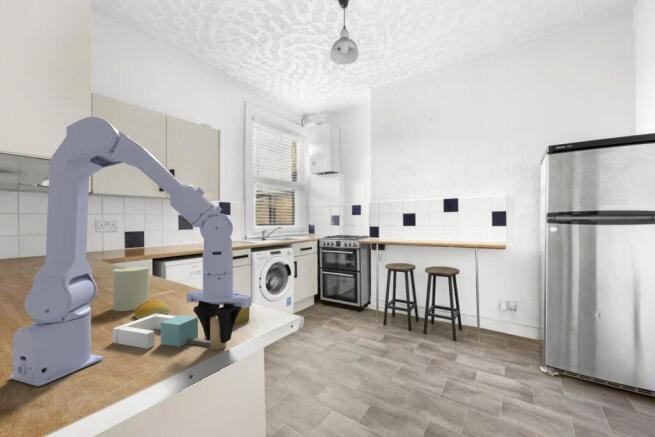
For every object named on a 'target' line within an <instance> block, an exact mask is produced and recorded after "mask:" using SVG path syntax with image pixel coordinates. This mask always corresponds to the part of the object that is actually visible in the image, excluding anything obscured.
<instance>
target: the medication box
mask: <svg viewBox="0 0 655 437" xmlns="http://www.w3.org/2000/svg"><path fill="white" fill-rule="evenodd" d="M250 307H251V306H250ZM250 307H247V308H241V310H240V312H239V314H238V316H237V318H236V321H235V323H234V327H236V326H238V325H241V324H242V323H244V322H246V321H248V320H250Z"/></svg>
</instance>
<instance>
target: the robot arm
mask: <svg viewBox="0 0 655 437" xmlns="http://www.w3.org/2000/svg"><path fill="white" fill-rule="evenodd" d="M121 164H125V165H127V166H131V167H135V168H137V169H138V170H140V172H142V173H143V174H144V175H146V176H147V177H148V178H149V179H150V180H152V182H153V183H155V185H157V186H158V187H159V188H161V189H162V190H163V191H164V192H165V193H166V194H168V195H169V204H170V206H171V208H173V209H174V210H175V211H176V212H178V214H179V215H180V216H182V217H183V218H184V219H185V220H186V221H187V222H188V223H190V224H191V226H193V227H194V228H199V232H200V235H201V237H202V238H203V250H202V291H201V290H193V291H189V292H186V303H198V304H197V306H194V307H193V312H194V314H195V315H196V317H198V321H199V322H200V324H201V327H202V330H203V334H204V337H205V340H206V341H210V317H212V316H215V315H217V316H218V320H219V325H220V339H221V343H226V344H227V342H229V341H230V340H231V339H232V335H233V330H234V327H235V326H234V323H235V321H236V318H237V316H238V314H239V312H240V310H241V308H247V307H251V306H252V300H253V299H252V295H246V294H243V293H237V292H235V290H234V258H233V257H234V256H233V255H234V254H233V253H234V252H233V249H232V247H233V241H232V237H231V236H232V235H233V233H234V232H233V231H234V228H233V227H234V226H233V222H232V220H231V219H230V218H229V216H228V215H226V214H223V213H220V212H221V211H222V210H223V209H222V208H221V206H219V205H217V206H216V205H215V204H214V203H213V202H211V200H210V199H208V197H206V196H205V191H204V190H203V189H202V188H201V187H196V186H194V185H193V184H183V183H181V182H180V181H179V180H178V179H177V178H176V177H175V176H174V175H173V174H172V173H171V172H170V171H169V170H168V169H167V168H166V167H165V166H164V165H163V164H162V163H161V162H160V161H159V160H158V159H157V157H155V156H154V155H153V154H152V153H150V152H149V151H148V150H147V149H146V148H145V147H143V146H142V145H140V144H139V143H137V142H136V141H135V140H134V139H132V138H131V137H130V136H128V135H126V134H125V133H124V132H122V131H120V130H119V129H117V128H115V126H114V125H112V124H111V123H110V122H109V121H107V120H105V119H104V118H101V117H97V116H88V117H84V118H81V119H79V120H77V121H76V122H73V123H72V124H69V125H67V126H66V135H65V137H64V139H63V140H62V142H61V143H60V145H58V147H57V149H56V150H55V151H54V153H53V154H52V156H51V157H50V160H49V169H48V192H47V193H48V194H47V219H46V220H47V221H46V241H45V242H46V243H45V244H46V245H45V262H44V264H43V266H41V267H40V269H39V270H38V271H37V272H36V273H35V275H34V276H33V277H32V286H31V289H30V291H29V292H28V293H27V295H26V297H25V299H24V310H25V313H27V315H28V316H29V317H30V318H32V319H33V320H34V322H32V323H30V324H29V325H27V326H24V327H23V326H22V327H21V328H19V329H17V330H16V331H15V332H14V334H13V337H12V344H11V345H12V352H11V353H12V355H11V356H12V359H11V360H12V371H11V372H12V374H10V375H9V378H10V379H11V380H14V381H18V382H22V383H25V384H28V385H32V386H35V387H41V386H44V385H46V384H48V383H51V382H53V381H55V380H57V379H60V378H62V377H65V376H67V375H69V374H71V373H74V372H76V371H78V370H80V369H83V368H85V367H87V366H91V365H92V364H95V363H97V362H100V361H102V360H103V358H104V357H103V356H102V355H98V354H93V353H92V337H91V336H92V313H91V312H92V309H91V307H90V306H91V305H90V303H91V302H92V301H93V300H94V299H95V297H96V296H97V294H98V285H97V282H96V281H95V279H94V277H93V268H92V266H91V265H90V264H89V262H88V261H87V247H88V246H87V243H88V242H87V241H88V223H89V222H88V218H89V214H88V213H89V192H90V191H89V190H90V189H89V188H90V177H91V176H92V175H94V174H95V173H97V172H99V171H101V170H102V169H105V168H107V167H112V166H116V165H121ZM221 305H222V306H221ZM220 306H221V307H220Z"/></svg>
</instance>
